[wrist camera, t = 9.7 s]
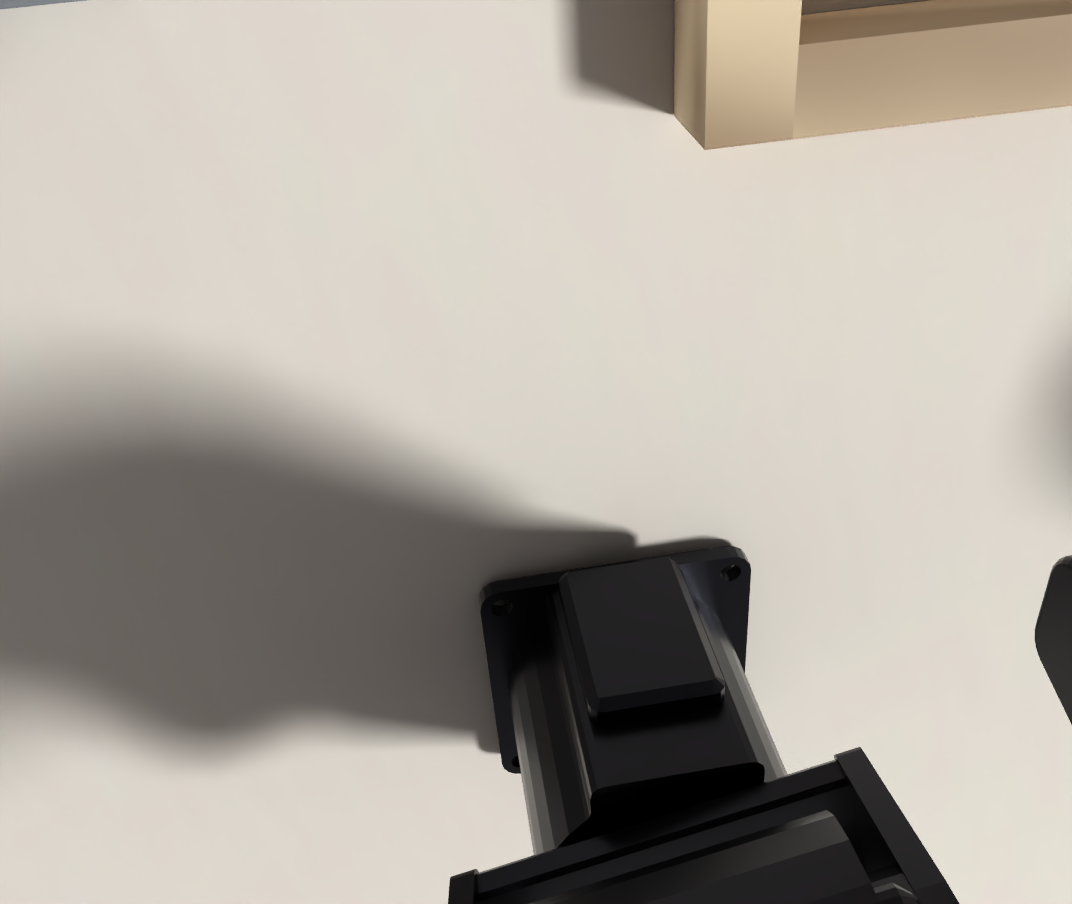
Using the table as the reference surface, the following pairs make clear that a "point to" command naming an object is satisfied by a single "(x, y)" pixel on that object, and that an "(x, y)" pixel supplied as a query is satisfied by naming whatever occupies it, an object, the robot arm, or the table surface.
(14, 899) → the table surface
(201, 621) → the table surface
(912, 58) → the pocket frame
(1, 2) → the coaster
